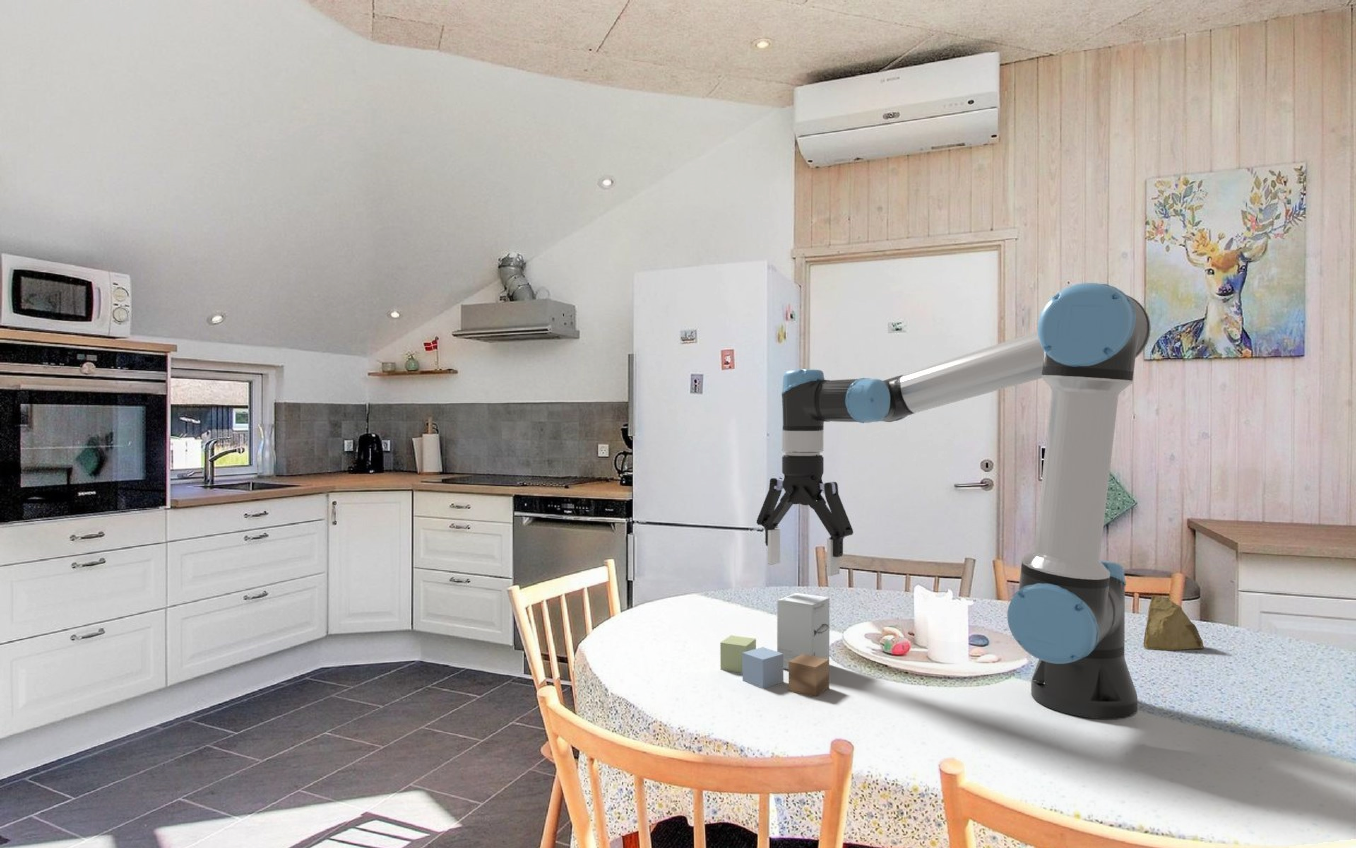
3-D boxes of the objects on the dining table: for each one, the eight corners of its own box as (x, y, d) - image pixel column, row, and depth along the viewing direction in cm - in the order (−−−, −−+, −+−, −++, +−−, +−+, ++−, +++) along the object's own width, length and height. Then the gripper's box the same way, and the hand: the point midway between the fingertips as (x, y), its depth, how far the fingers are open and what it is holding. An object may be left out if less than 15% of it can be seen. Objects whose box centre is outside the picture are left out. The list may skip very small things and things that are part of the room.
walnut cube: (829, 688, 130) (829, 659, 130) (815, 697, 126) (815, 667, 126) (802, 682, 133) (802, 654, 133) (788, 691, 129) (788, 661, 129)
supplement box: (812, 675, 137) (812, 604, 137) (775, 667, 141) (775, 599, 141) (830, 664, 143) (830, 596, 142) (795, 657, 147) (795, 591, 147)
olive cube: (756, 665, 143) (755, 638, 143) (746, 673, 138) (745, 646, 138) (731, 662, 145) (730, 635, 145) (720, 669, 140) (720, 642, 140)
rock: (1206, 632, 154) (1149, 618, 160) (1211, 604, 149) (1151, 591, 155) (1199, 675, 148) (1139, 659, 154) (1203, 648, 143) (1142, 632, 149)
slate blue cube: (783, 682, 134) (783, 653, 134) (762, 689, 131) (762, 659, 130) (763, 675, 138) (762, 647, 137) (742, 681, 134) (742, 652, 134)
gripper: (873, 455, 135) (872, 576, 135) (764, 450, 153) (763, 557, 153) (848, 457, 130) (848, 583, 130) (738, 452, 148) (738, 562, 148)
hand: (802, 569), depth 142 cm, fingers open, 13 cm apart
